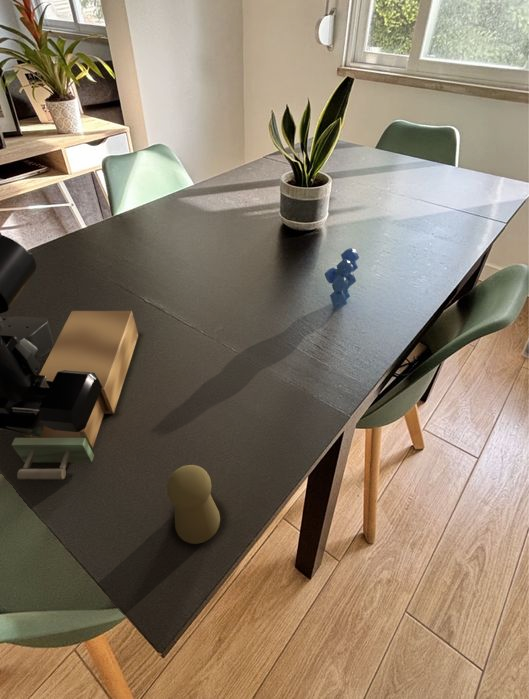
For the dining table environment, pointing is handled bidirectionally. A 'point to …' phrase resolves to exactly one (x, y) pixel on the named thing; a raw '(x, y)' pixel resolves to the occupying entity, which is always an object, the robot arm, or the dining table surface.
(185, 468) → the olive rounded upright piece
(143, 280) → the dining table surface
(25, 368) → the robot arm
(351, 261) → the grapes
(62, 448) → the drawer
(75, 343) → the cabinet
